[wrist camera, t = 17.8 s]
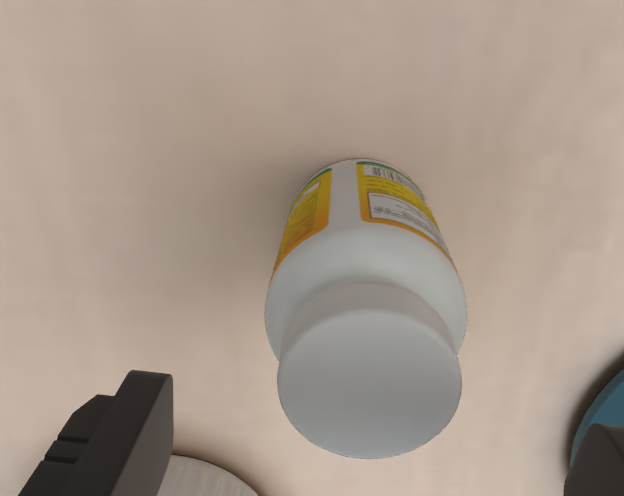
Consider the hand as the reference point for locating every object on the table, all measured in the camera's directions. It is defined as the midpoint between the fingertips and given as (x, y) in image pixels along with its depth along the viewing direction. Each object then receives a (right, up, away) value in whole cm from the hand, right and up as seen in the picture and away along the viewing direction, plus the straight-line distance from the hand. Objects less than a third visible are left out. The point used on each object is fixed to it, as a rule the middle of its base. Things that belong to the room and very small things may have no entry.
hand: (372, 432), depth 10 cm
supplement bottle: (+1, +5, +10) cm, 11 cm away
